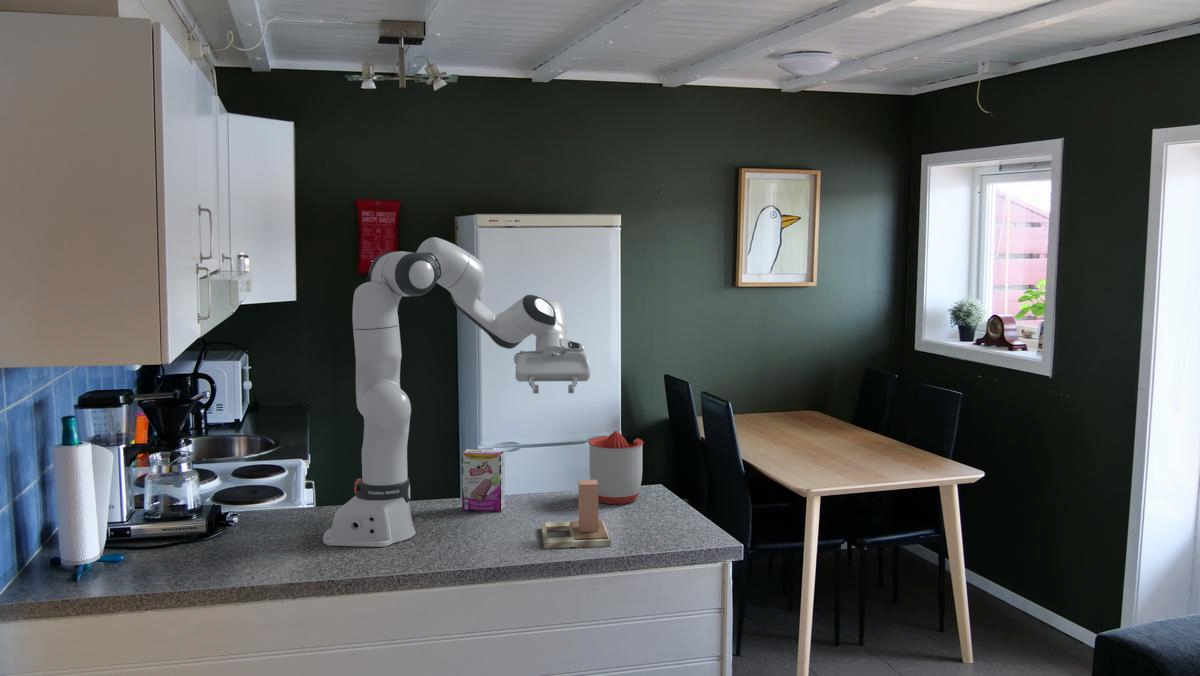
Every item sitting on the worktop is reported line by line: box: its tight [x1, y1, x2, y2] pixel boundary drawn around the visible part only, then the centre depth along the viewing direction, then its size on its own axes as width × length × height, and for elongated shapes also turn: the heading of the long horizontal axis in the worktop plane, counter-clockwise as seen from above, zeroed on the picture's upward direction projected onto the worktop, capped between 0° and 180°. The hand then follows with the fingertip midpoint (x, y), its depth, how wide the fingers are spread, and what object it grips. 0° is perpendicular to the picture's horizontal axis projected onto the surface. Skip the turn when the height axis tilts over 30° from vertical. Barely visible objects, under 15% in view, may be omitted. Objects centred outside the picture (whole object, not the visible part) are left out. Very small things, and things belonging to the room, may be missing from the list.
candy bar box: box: [461, 448, 506, 513], centre depth 256 cm, size 11×5×16 cm, turn 84°
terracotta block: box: [578, 479, 599, 532], centre depth 232 cm, size 4×4×12 cm
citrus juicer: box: [588, 430, 644, 505], centre depth 266 cm, size 16×17×20 cm
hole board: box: [541, 519, 612, 550], centre depth 233 cm, size 16×16×2 cm
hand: (553, 392), depth 248 cm, fingers open, 8 cm apart
